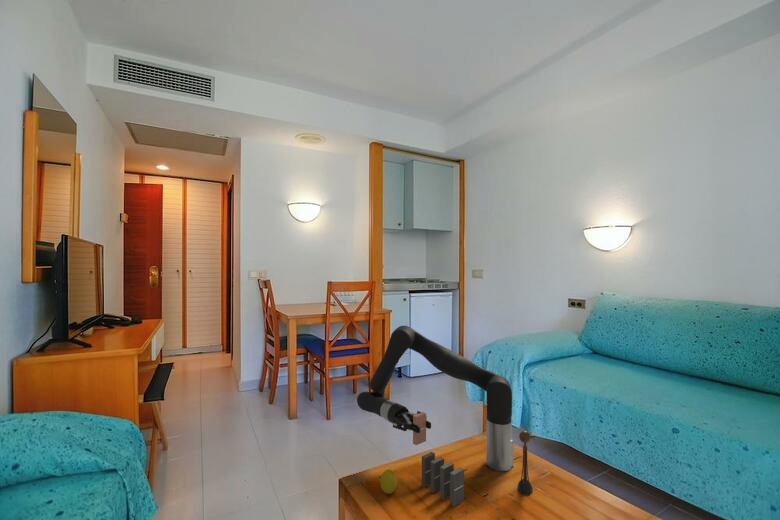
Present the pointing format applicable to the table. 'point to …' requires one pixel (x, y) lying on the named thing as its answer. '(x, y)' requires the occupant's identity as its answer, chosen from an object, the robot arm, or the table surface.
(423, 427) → the terracotta domino
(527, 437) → the wooden tabletop sculpture
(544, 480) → the table surface
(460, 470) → the charcoal domino
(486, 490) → the table surface
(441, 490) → the charcoal domino
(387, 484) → the lemon
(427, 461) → the charcoal domino
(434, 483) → the charcoal domino
